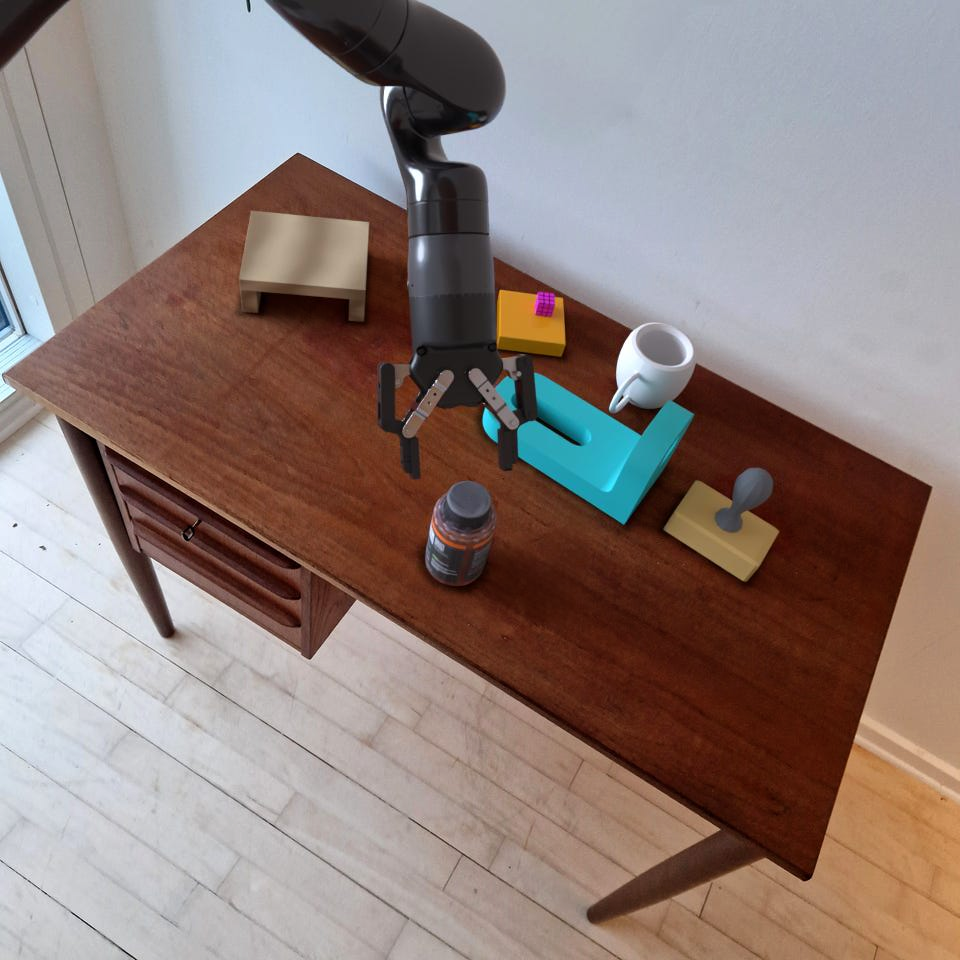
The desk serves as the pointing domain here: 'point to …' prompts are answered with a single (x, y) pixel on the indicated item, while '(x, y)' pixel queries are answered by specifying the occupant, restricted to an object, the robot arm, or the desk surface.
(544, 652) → the desk surface
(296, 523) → the desk surface
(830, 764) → the desk surface
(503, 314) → the orange block
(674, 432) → the bracket
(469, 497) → the supplement bottle
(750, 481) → the rubber stamp
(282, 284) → the stand
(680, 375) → the mug
